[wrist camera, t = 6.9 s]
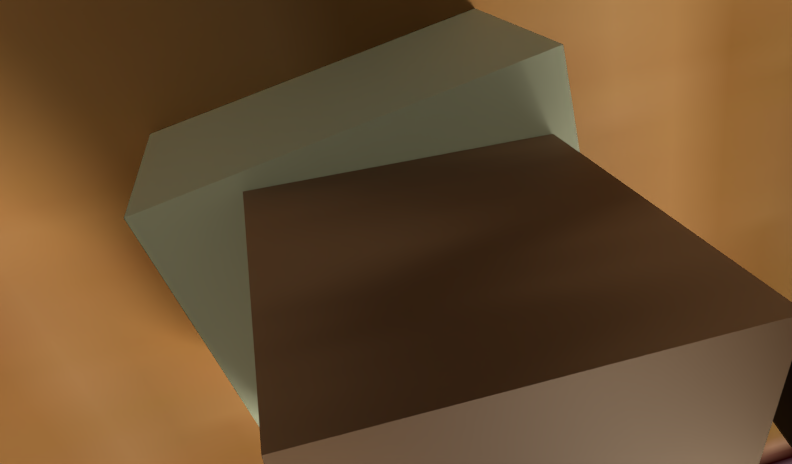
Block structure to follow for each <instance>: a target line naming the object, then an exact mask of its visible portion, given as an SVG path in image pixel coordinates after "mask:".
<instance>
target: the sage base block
mask: <svg viewBox="0 0 792 464" xmlns="http://www.w3.org/2000/svg"><path fill="white" fill-rule="evenodd" d="M549 134H554V135H556V136H557V137H558V138H560V139H561V140H563V141H564V142H565V143H567V144H568V145H570V146H571V147H572V148H574V149H575V150H577V151H578V152H580V151H579V145H578V138H577V132H576V125H575V119H574V112H573V105H572V99H571V92H570V86H569V79H568V73H567V66H566V60H565V53H564V47H563V44H561V43H558V42H556V41H553V40H551V39H549V38H546V37H544V36H541V35H539V34H536V33H534V32H531V31H529V30H527V29H524V28H522V27H519V26H517V25H514V24H512V23H509V22H507V21H505V20H502V19H500V18H497V17H495V16H492V15H490V14H487V13H485V12H483V11H480V10H478V9H475V8H474V9H472V10H469V11H467V12H464V13H461V14H459V15H456V16H454V17H451V18H448V19H446V20H443V21H441V22H438V23H436V24H433V25H430V26H428V27H425V28H423V29H420V30H417V31H415V32H412V33H410V34H407V35H405V36H402V37H399V38H397V39H394V40H392V41H389V42H386V43H384V44H381V45H379V46H376V47H374V48H371V49H368V50H366V51H363V52H361V53H358V54H355V55H353V56H350V57H348V58H345V59H342V60H340V61H337V62H335V63H332V64H330V65H327V66H324V67H322V68H319V69H317V70H314V71H311V72H309V73H306V74H304V75H301V76H299V77H296V78H293V79H291V80H288V81H286V82H283V83H280V84H278V85H275V86H273V87H270V88H268V89H265V90H262V91H260V92H257V93H255V94H252V95H249V96H247V97H244V98H242V99H239V100H237V101H234V102H231V103H229V104H226V105H224V106H221V107H218V108H216V109H213V110H211V111H208V112H206V113H203V114H200V115H198V116H195V117H193V118H190V119H187V120H185V121H182V122H180V123H177V124H175V125H172V126H169V127H167V128H164V129H162V130H159V131H156V132H154V133H151V134H150V136H149V139H148V142H147V145H146V149H145V152H144V155H143V158H142V161H141V165H140V168H139V171H138V174H137V177H136V181H135V184H134V187H133V190H132V194H131V197H130V200H129V203H128V206H127V210H126V213H125V216H124V219H125V221H126V222H127V224H128V225H129V227H130V228H131V230H132V231H133V233H134V235H135V236H136V238H137V239H138V241H139V242H140V244H141V245H142V247H143V248H144V250H145V251H146V253H147V255H148V256H149V258H150V259H151V261H152V262H153V264H154V265H155V267H156V268H157V270H158V272H159V273H160V275H161V276H162V278H163V279H164V281H165V282H166V284H167V285H168V287H169V288H170V290H171V292H172V293H173V295H174V296H175V298H176V299H177V301H178V302H179V304H180V305H181V307H182V308H183V310H184V312H185V313H186V315H187V316H188V318H189V319H190V321H191V322H192V324H193V325H194V327H195V329H196V330H197V332H198V333H199V335H200V336H201V338H202V339H203V341H204V342H205V344H206V345H207V347H208V349H209V350H210V352H211V353H212V355H213V356H214V358H215V359H216V361H217V362H218V364H219V365H220V367H221V369H222V370H223V372H224V373H225V375H226V376H227V378H228V379H229V381H230V382H231V384H232V386H233V387H234V389H235V390H236V392H237V393H238V395H239V396H240V398H241V399H242V401H243V402H244V404H245V406H246V407H247V409H248V410H249V412H250V413H251V415H252V416H253V418H254V419H255V421H256V423H257V424H258V426H259V412H258V398H257V384H256V370H255V356H254V342H253V328H252V314H251V300H250V286H249V272H248V258H247V244H246V230H245V216H244V202H243V191H249V190H254V189H259V188H265V187H270V186H275V185H281V184H286V183H291V182H297V181H302V180H308V179H313V178H318V177H324V176H329V175H334V174H340V173H345V172H350V171H356V170H361V169H367V168H372V167H377V166H383V165H388V164H393V163H399V162H404V161H410V160H415V159H420V158H426V157H431V156H436V155H442V154H447V153H452V152H458V151H463V150H469V149H474V148H479V147H485V146H490V145H495V144H501V143H506V142H511V141H517V140H522V139H528V138H533V137H538V136H544V135H549ZM259 427H260V426H259Z"/></svg>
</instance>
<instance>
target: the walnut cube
mask: <svg viewBox="0 0 792 464" xmlns="http://www.w3.org/2000/svg"><path fill="white" fill-rule="evenodd" d="M243 202H244V216H245V230H246V244H247V258H248V272H249V286H250V300H251V314H252V328H253V342H254V356H255V370H256V384H257V398H258V412H259V426H260V440H261V454H262V459H263V462H264V464H759V462H760V459H761V456H762V453H763V450H764V446H765V443H766V440H767V437H768V434H769V431H770V428H771V424H772V421H773V418H774V415H775V412H776V409H777V406H778V402H779V399H780V396H781V393H782V390H783V387H784V383H785V380H786V377H787V374H788V371H789V368H790V365H791V361H792V302H791V301H789V300H788V299H786V298H785V297H784V296H782V295H781V294H779V293H778V292H776V291H775V290H774V289H772V288H771V287H769V286H768V285H767V284H765V283H764V282H762V281H761V280H759V279H758V278H757V277H755V276H754V275H752V274H751V273H750V272H748V271H747V270H745V269H744V268H742V267H741V266H740V265H738V264H737V263H735V262H734V261H733V260H731V259H730V258H728V257H727V256H725V255H724V254H723V253H721V252H720V251H718V250H717V249H716V248H714V247H713V246H711V245H710V244H708V243H707V242H706V241H704V240H703V239H701V238H700V237H699V236H697V235H696V234H694V233H693V232H691V231H690V230H689V229H687V228H686V227H684V226H683V225H682V224H680V223H679V222H677V221H676V220H674V219H673V218H672V217H670V216H669V215H667V214H666V213H665V212H663V211H662V210H660V209H659V208H657V207H656V206H655V205H653V204H652V203H650V202H649V201H648V200H646V199H645V198H643V197H642V196H640V195H639V194H638V193H636V192H635V191H633V190H632V189H631V188H629V187H628V186H626V185H625V184H623V183H622V182H621V181H619V180H618V179H616V178H615V177H614V176H612V175H611V174H609V173H608V172H606V171H605V170H604V169H602V168H601V167H599V166H598V165H597V164H595V163H594V162H592V161H591V160H589V159H588V158H587V157H585V156H584V155H582V154H581V153H580V152H578V151H577V150H575V149H574V148H572V147H571V146H570V145H568V144H567V143H565V142H564V141H563V140H561V139H560V138H558V137H557V136H556V135H554V134H549V135H544V136H538V137H533V138H528V139H522V140H517V141H511V142H506V143H501V144H495V145H490V146H485V147H479V148H474V149H469V150H463V151H458V152H452V153H447V154H442V155H436V156H431V157H426V158H420V159H415V160H410V161H404V162H399V163H393V164H388V165H383V166H377V167H372V168H367V169H361V170H356V171H350V172H345V173H340V174H334V175H329V176H324V177H318V178H313V179H308V180H302V181H297V182H291V183H286V184H281V185H275V186H270V187H265V188H259V189H254V190H249V191H243Z"/></svg>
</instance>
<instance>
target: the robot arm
mask: <svg viewBox="0 0 792 464" xmlns="http://www.w3.org/2000/svg"><path fill="white" fill-rule="evenodd" d="M773 422H774V424H775V425H776V426H777V428H778V429H779V431H780V432H781V433H782V435H783V436H784V438H785V439H786V440H787V442H788V443H789V445H790V446H791V447H792V361H791V365H790V368H789V371H788V374H787V377H786V380H785V383H784V387H783V390H782V393H781V396H780V399H779V402H778V406H777V409H776V412H775V415H774V418H773Z"/></svg>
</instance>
